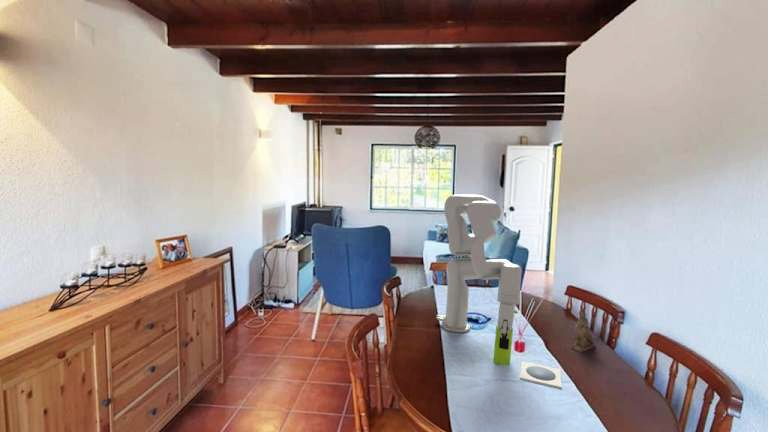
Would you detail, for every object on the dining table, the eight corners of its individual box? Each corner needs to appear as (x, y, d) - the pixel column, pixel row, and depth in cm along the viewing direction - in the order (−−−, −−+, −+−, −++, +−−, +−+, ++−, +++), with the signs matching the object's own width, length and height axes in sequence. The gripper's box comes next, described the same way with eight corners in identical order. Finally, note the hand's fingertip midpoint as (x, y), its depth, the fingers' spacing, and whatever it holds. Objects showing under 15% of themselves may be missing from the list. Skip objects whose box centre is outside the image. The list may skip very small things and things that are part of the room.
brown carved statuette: (580, 358, 154) (580, 317, 150) (568, 352, 159) (567, 312, 155) (597, 346, 160) (597, 307, 156) (585, 341, 165) (584, 302, 161)
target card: (519, 379, 130) (519, 377, 130) (521, 362, 142) (522, 360, 142) (561, 388, 125) (561, 386, 125) (560, 370, 137) (560, 369, 137)
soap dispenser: (513, 366, 139) (518, 313, 137) (494, 363, 140) (498, 310, 138) (511, 359, 145) (516, 307, 143) (492, 356, 146) (497, 305, 144)
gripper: (500, 290, 149) (496, 334, 151) (494, 302, 133) (491, 352, 135) (520, 293, 146) (516, 338, 148) (517, 306, 131) (513, 356, 132)
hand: (504, 344), depth 142 cm, fingers closed on soap dispenser, 5 cm apart
